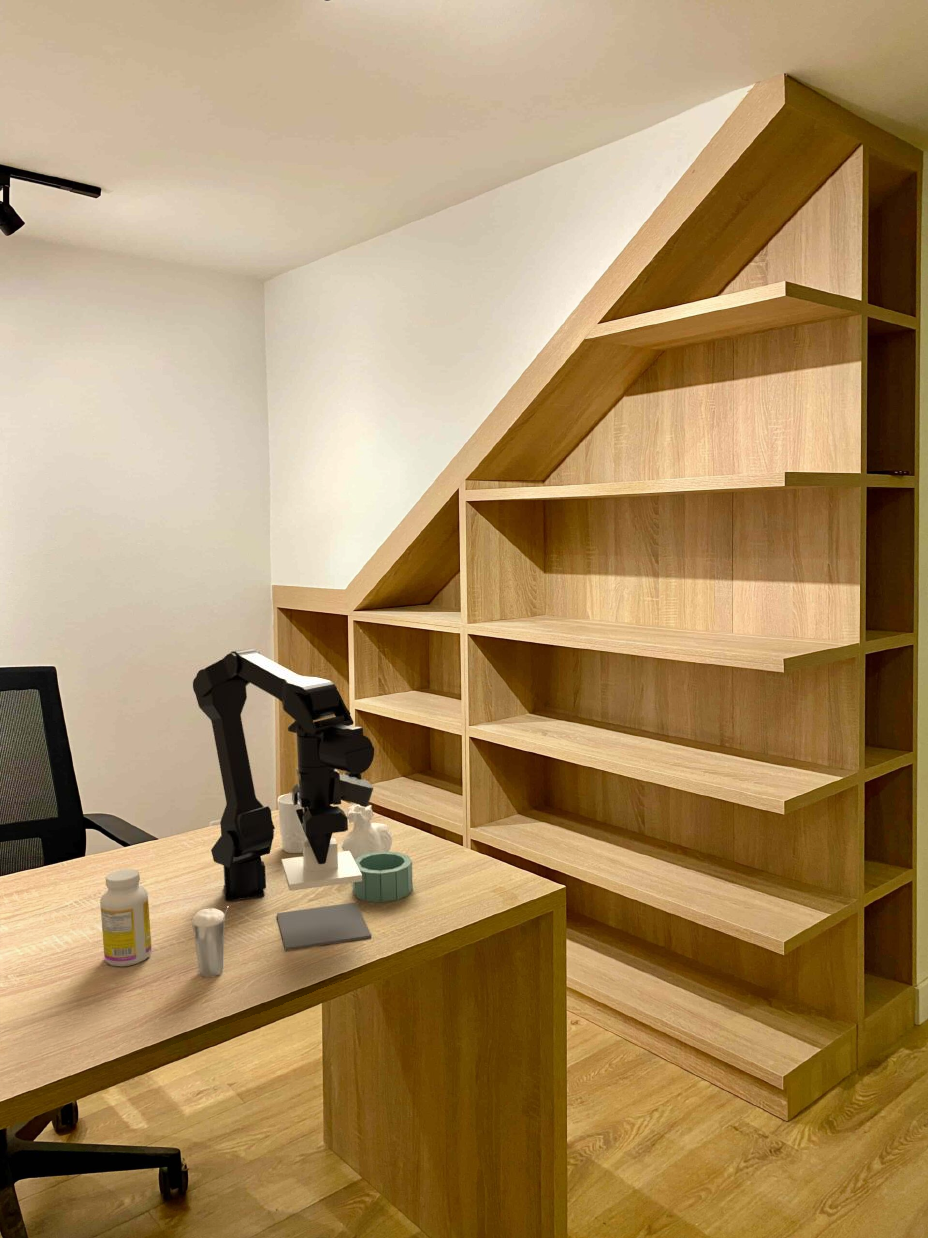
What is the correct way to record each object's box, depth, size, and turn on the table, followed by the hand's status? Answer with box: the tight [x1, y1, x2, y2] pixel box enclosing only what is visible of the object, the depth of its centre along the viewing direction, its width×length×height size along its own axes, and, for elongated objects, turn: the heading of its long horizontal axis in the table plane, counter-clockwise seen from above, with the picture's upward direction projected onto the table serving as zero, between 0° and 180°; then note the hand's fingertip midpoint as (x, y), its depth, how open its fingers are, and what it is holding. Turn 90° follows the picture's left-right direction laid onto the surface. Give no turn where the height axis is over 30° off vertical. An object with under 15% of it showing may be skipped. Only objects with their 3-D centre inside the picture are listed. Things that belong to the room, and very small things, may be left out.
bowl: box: [352, 851, 414, 903], centre depth 163 cm, size 10×10×5 cm
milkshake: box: [191, 906, 229, 978], centre depth 135 cm, size 5×5×10 cm
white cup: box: [277, 792, 308, 854], centre depth 184 cm, size 8×8×10 cm
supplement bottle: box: [99, 868, 153, 967], centre depth 140 cm, size 7×7×13 cm
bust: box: [341, 803, 393, 860], centre depth 178 cm, size 12×8×11 cm
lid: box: [281, 836, 362, 892], centre depth 148 cm, size 11×11×5 cm
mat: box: [276, 902, 372, 951], centre depth 149 cm, size 13×13×1 cm
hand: (320, 860), depth 148 cm, fingers closed on lid, 3 cm apart
